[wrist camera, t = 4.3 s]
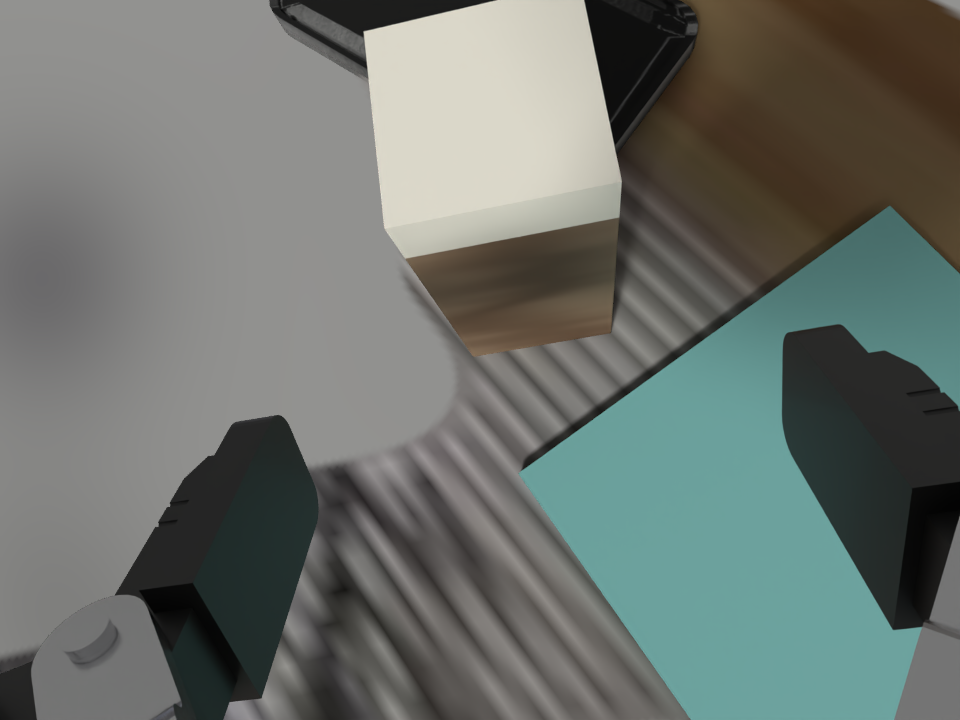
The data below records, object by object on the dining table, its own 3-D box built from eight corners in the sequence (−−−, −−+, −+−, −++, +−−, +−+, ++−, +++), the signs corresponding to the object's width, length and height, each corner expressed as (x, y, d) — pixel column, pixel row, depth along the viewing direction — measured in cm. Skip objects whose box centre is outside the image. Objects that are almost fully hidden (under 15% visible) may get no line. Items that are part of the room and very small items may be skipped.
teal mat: (519, 474, 22) (518, 473, 21) (883, 212, 22) (889, 205, 21) (960, 1102, 16) (971, 1119, 16) (1432, 753, 17) (1458, 759, 16)
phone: (579, 193, 23) (256, 3, 27) (580, 208, 24) (270, 24, 28) (713, 13, 24) (381, -145, 28) (708, 35, 25) (389, -119, 29)
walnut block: (473, 356, 23) (384, 229, 13) (456, 232, 24) (363, 31, 14) (610, 332, 22) (622, 181, 13) (586, 206, 23) (579, -20, 14)
